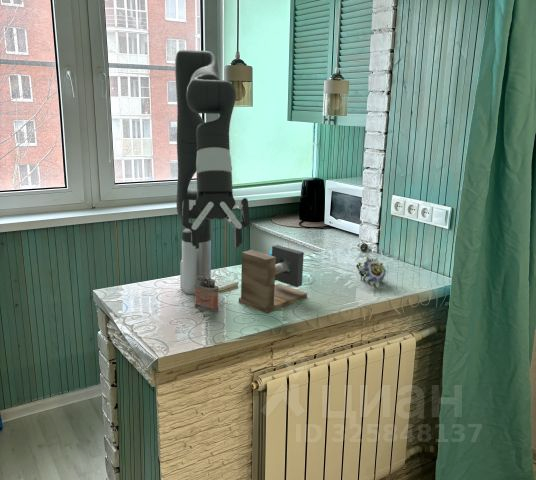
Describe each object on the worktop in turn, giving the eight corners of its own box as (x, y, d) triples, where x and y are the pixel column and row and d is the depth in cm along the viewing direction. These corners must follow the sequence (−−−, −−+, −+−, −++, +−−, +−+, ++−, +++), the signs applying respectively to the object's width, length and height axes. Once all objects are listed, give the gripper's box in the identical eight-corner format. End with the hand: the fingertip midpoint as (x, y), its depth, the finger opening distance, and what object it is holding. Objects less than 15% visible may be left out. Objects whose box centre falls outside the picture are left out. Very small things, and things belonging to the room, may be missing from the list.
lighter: (220, 310, 156) (221, 278, 154) (214, 313, 153) (214, 281, 151) (199, 304, 160) (199, 273, 157) (192, 307, 157) (192, 276, 155)
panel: (275, 276, 173) (277, 244, 170) (301, 285, 166) (303, 252, 163) (270, 278, 171) (272, 246, 168) (297, 287, 164) (298, 253, 161)
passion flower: (374, 302, 181) (368, 281, 173) (351, 287, 188) (344, 266, 180) (395, 280, 185) (390, 258, 176) (371, 266, 192) (366, 245, 183)
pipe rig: (280, 286, 177) (282, 239, 172) (308, 296, 169) (311, 247, 165) (238, 302, 162) (239, 251, 158) (267, 313, 155) (269, 260, 150)
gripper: (243, 175, 117) (246, 247, 116) (179, 175, 114) (181, 250, 113) (250, 168, 110) (253, 245, 109) (181, 168, 107) (184, 247, 106)
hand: (217, 247), depth 111 cm, fingers open, 8 cm apart
